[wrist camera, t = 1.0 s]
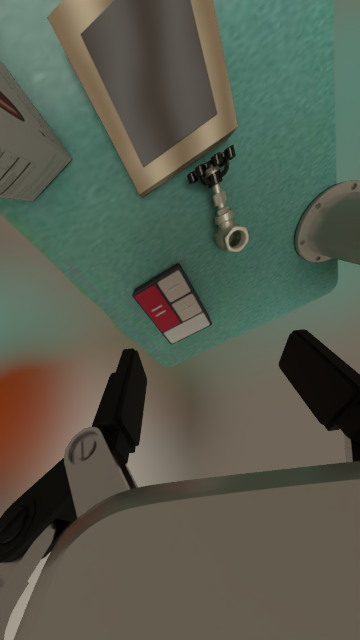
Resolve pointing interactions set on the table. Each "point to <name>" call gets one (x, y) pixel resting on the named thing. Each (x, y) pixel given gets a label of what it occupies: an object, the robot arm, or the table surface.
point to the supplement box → (25, 145)
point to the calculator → (172, 304)
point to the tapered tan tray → (151, 79)
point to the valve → (221, 201)
